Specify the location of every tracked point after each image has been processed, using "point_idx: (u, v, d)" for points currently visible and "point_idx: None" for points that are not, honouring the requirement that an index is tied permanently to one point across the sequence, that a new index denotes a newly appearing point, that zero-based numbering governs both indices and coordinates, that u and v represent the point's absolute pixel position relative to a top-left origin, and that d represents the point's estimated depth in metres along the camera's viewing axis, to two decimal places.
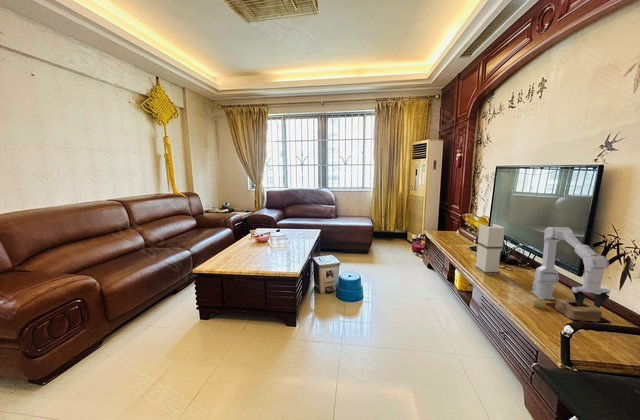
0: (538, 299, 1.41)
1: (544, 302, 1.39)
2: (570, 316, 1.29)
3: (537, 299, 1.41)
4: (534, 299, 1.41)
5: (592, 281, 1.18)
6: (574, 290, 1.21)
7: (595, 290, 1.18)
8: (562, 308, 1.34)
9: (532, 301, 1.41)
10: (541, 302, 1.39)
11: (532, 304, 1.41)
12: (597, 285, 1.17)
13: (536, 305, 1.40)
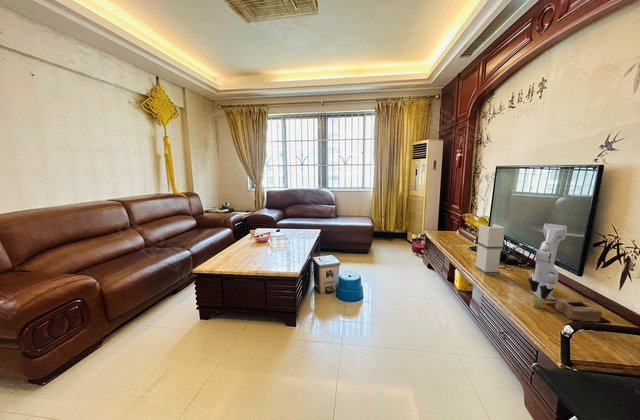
0: (538, 299, 1.41)
1: (544, 302, 1.39)
2: (570, 316, 1.29)
3: (537, 299, 1.41)
4: (534, 299, 1.41)
5: (536, 271, 1.38)
6: None
7: (534, 277, 1.39)
8: (562, 308, 1.34)
9: (532, 301, 1.41)
10: (541, 302, 1.39)
11: (532, 304, 1.41)
12: (535, 273, 1.38)
13: (536, 305, 1.40)
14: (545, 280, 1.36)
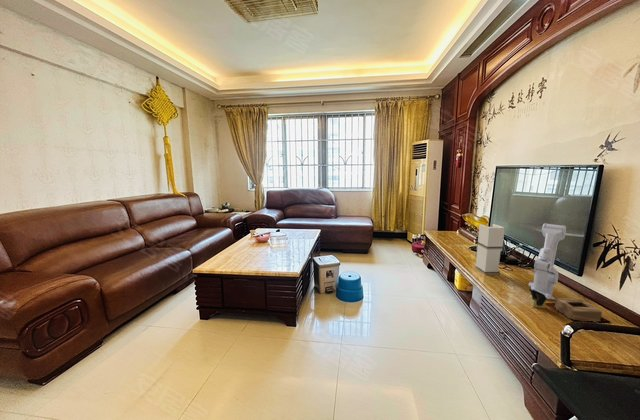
0: None
1: (544, 302, 1.39)
2: (570, 316, 1.29)
3: None
4: (534, 299, 1.41)
5: (535, 280, 1.39)
6: None
7: (533, 286, 1.40)
8: (562, 308, 1.34)
9: (532, 301, 1.41)
10: None
11: (532, 304, 1.41)
12: (534, 283, 1.39)
13: (536, 305, 1.40)
14: (544, 289, 1.37)
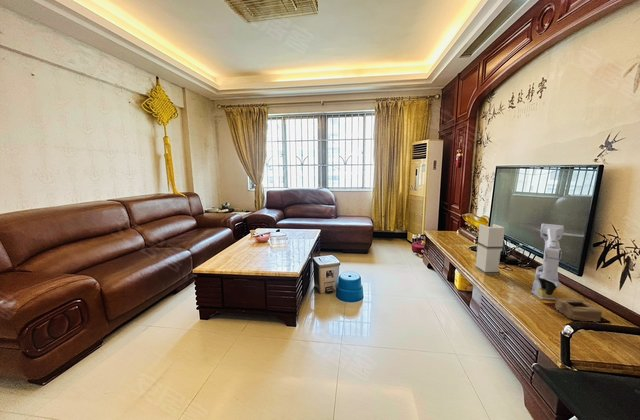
0: None
1: (553, 292, 1.36)
2: (570, 316, 1.29)
3: None
4: (543, 289, 1.38)
5: (546, 269, 1.35)
6: None
7: (542, 275, 1.37)
8: (562, 308, 1.34)
9: (541, 291, 1.38)
10: None
11: (540, 294, 1.38)
12: (543, 271, 1.36)
13: (545, 295, 1.37)
14: (553, 278, 1.33)
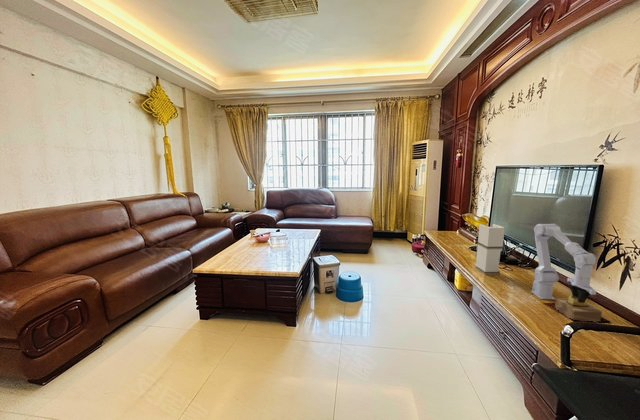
0: (578, 297, 1.31)
1: (585, 301, 1.29)
2: (570, 316, 1.29)
3: (577, 297, 1.31)
4: (573, 297, 1.31)
5: (583, 277, 1.26)
6: None
7: (574, 282, 1.30)
8: (562, 308, 1.34)
9: (572, 299, 1.31)
10: None
11: (571, 302, 1.31)
12: (575, 278, 1.29)
13: (576, 304, 1.30)
14: (587, 285, 1.26)
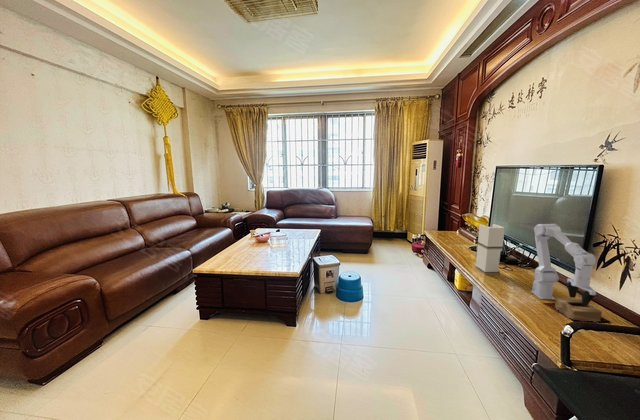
0: (576, 306, 1.32)
1: None
2: (570, 316, 1.29)
3: (575, 306, 1.32)
4: None
5: (583, 278, 1.26)
6: None
7: (574, 282, 1.30)
8: (562, 308, 1.34)
9: None
10: None
11: None
12: (575, 278, 1.29)
13: None
14: (586, 285, 1.27)
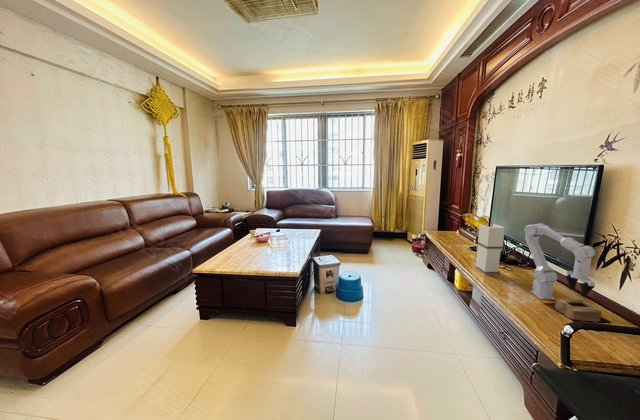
0: (576, 306, 1.32)
1: None
2: (570, 316, 1.29)
3: (575, 306, 1.32)
4: None
5: (584, 270, 1.30)
6: None
7: (573, 274, 1.34)
8: (562, 308, 1.34)
9: None
10: None
11: None
12: (574, 270, 1.33)
13: None
14: (585, 277, 1.30)
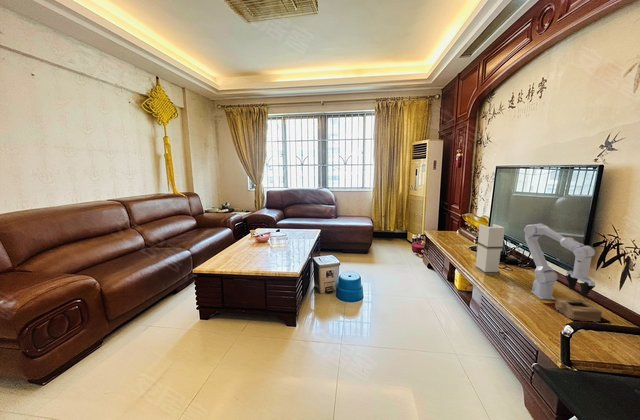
0: (576, 306, 1.32)
1: None
2: (570, 316, 1.29)
3: (575, 306, 1.32)
4: None
5: (584, 269, 1.30)
6: None
7: (573, 274, 1.34)
8: (562, 308, 1.34)
9: None
10: None
11: None
12: (574, 270, 1.33)
13: None
14: (585, 277, 1.30)
